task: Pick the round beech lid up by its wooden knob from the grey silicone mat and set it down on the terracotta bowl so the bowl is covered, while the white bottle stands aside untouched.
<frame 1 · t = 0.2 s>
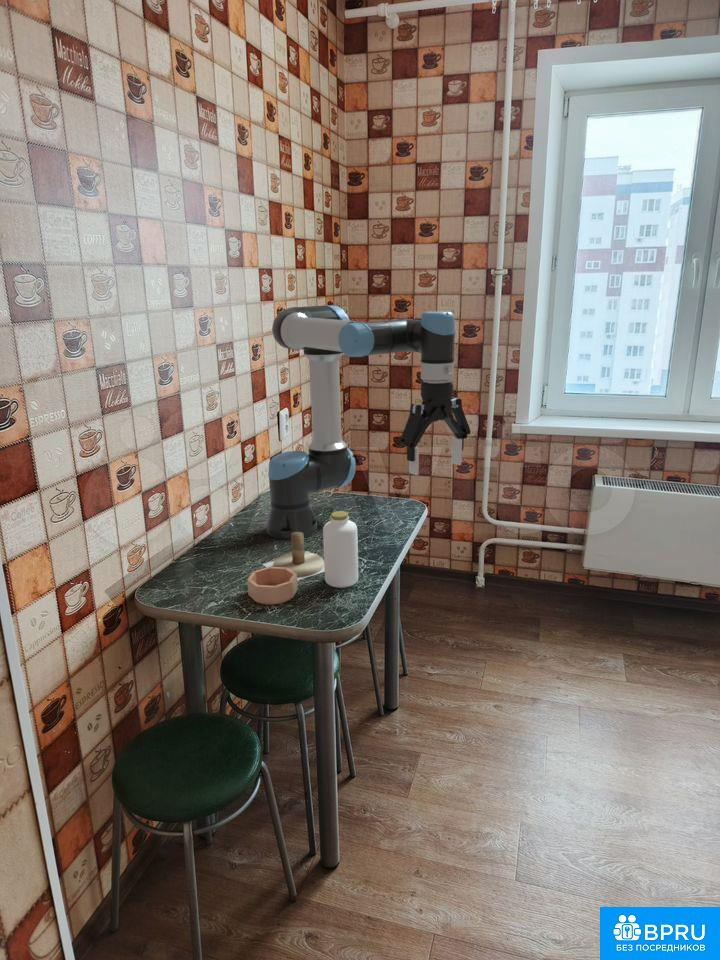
hand: (435, 468, 157), 28 cm above the table, fingers open, 13 cm apart
lid: (298, 566, 170), resting on mat
bowl: (273, 595, 155), on the table
white bottle: (341, 582, 162), on the table
mat: (298, 567, 170), on the table
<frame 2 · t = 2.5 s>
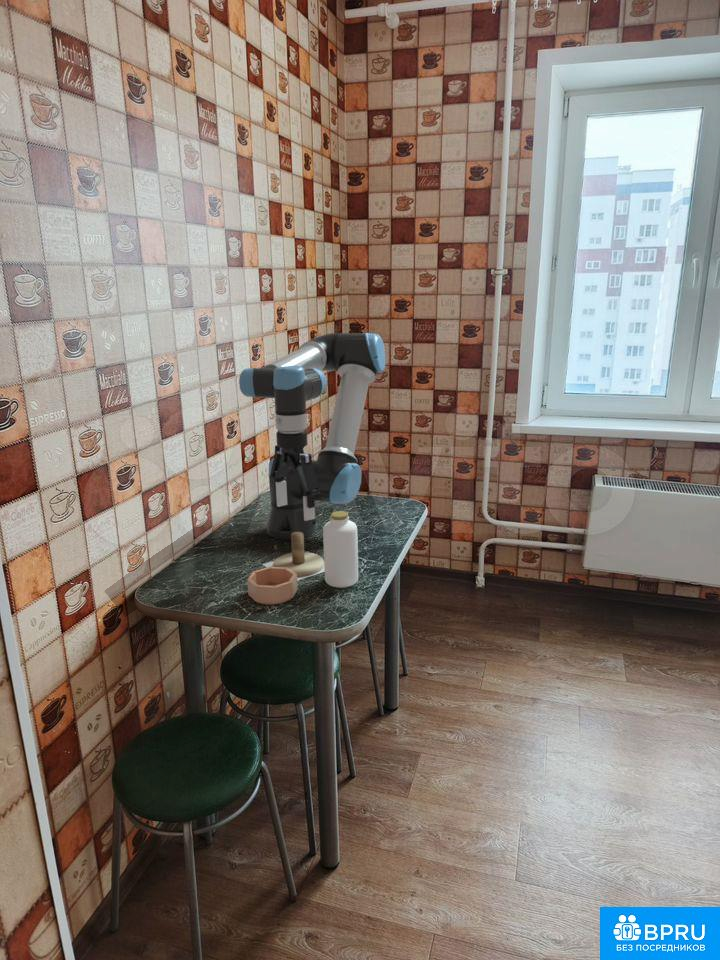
hand: (295, 512, 165), 15 cm above the table, fingers open, 13 cm apart
nothing on the table moved.
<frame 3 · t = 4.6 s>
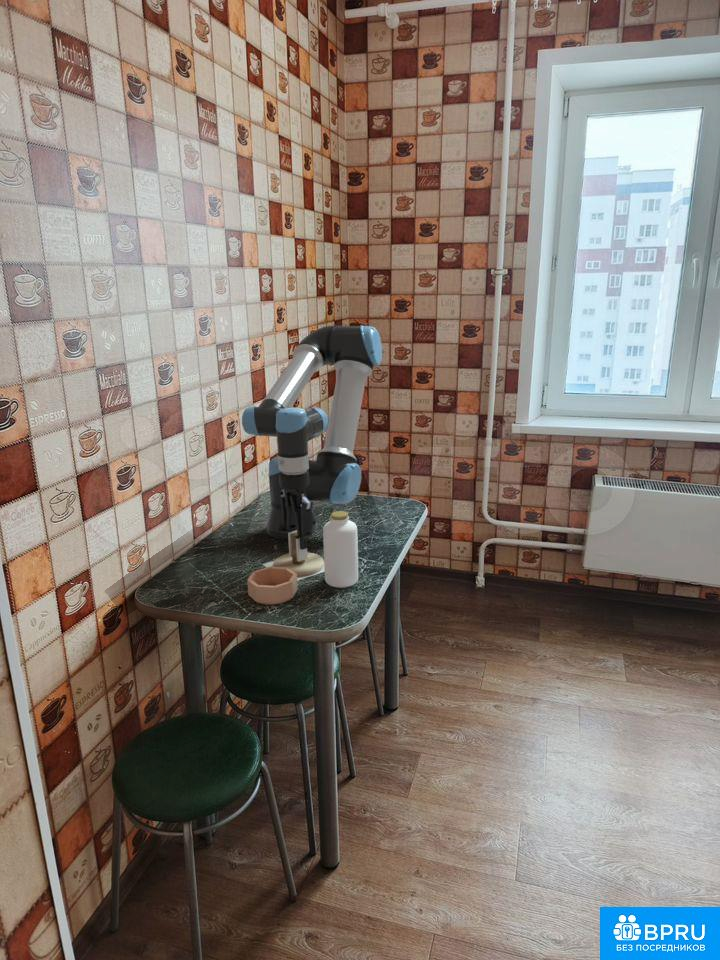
hand: (298, 557, 169), 3 cm above the table, fingers closed on lid, 3 cm apart
lid: (298, 566, 170), resting on mat, touching gripper
everything else where it was.
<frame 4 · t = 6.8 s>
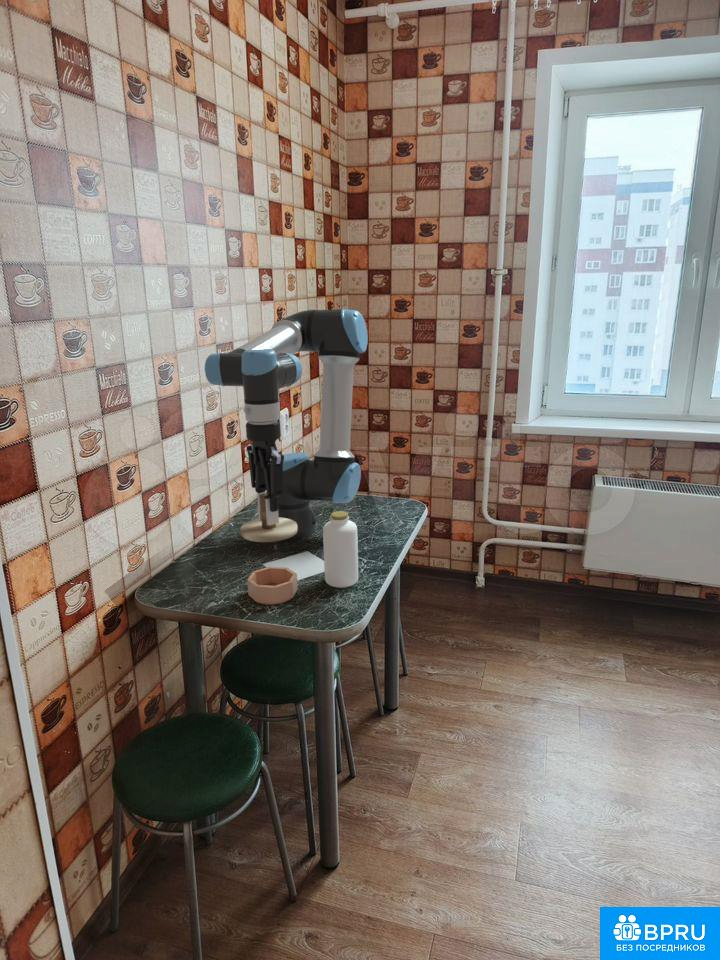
hand: (268, 521, 150), 19 cm above the table, fingers closed on lid, 3 cm apart
lid: (269, 531, 151), point 16 cm above the table, touching gripper
everything else where it was.
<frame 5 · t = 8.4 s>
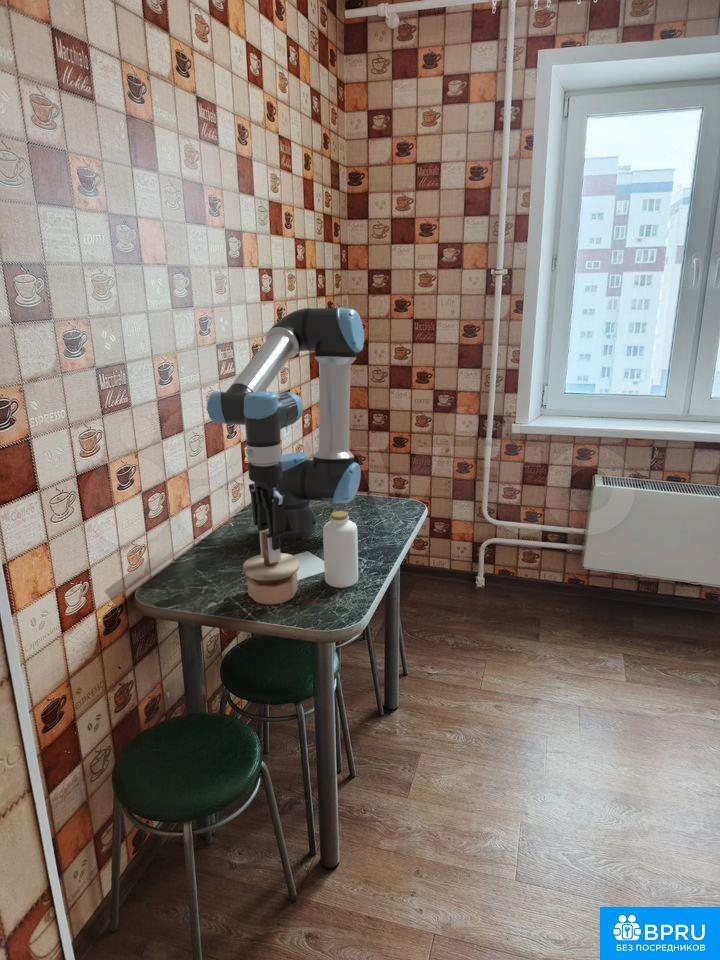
hand: (270, 558, 152), 10 cm above the table, fingers closed on lid, 3 cm apart
lid: (271, 568, 153), point 7 cm above the table, touching gripper
everything else where it was.
when the fingers open (9 cm above the table, at t = 9.3 s): lid drops 1 cm, resting on bowl.
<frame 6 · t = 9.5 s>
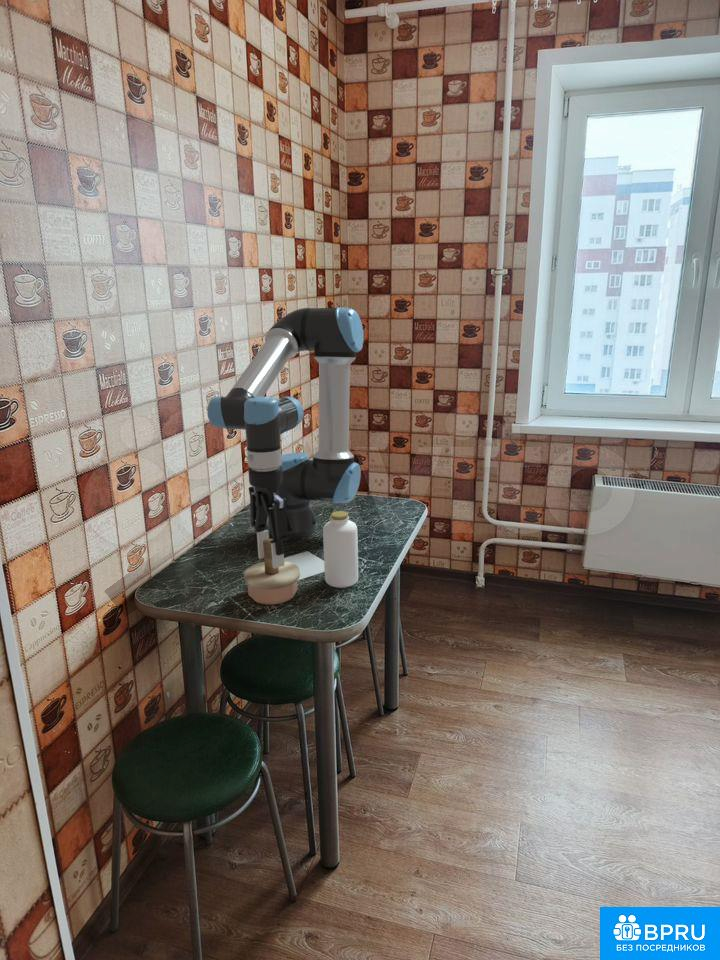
hand: (271, 561, 153), 9 cm above the table, fingers open, 6 cm apart
lid: (272, 576, 154), point 5 cm above the table, touching bowl
everything else where it was.
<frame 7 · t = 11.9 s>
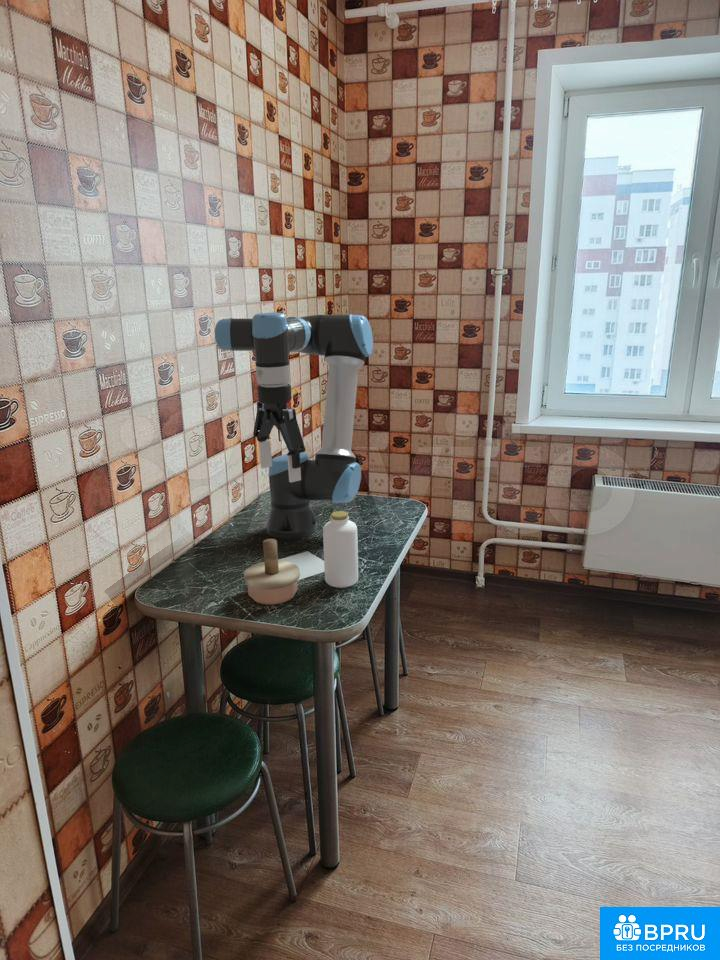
hand: (280, 474, 153), 28 cm above the table, fingers open, 13 cm apart
nothing on the table moved.
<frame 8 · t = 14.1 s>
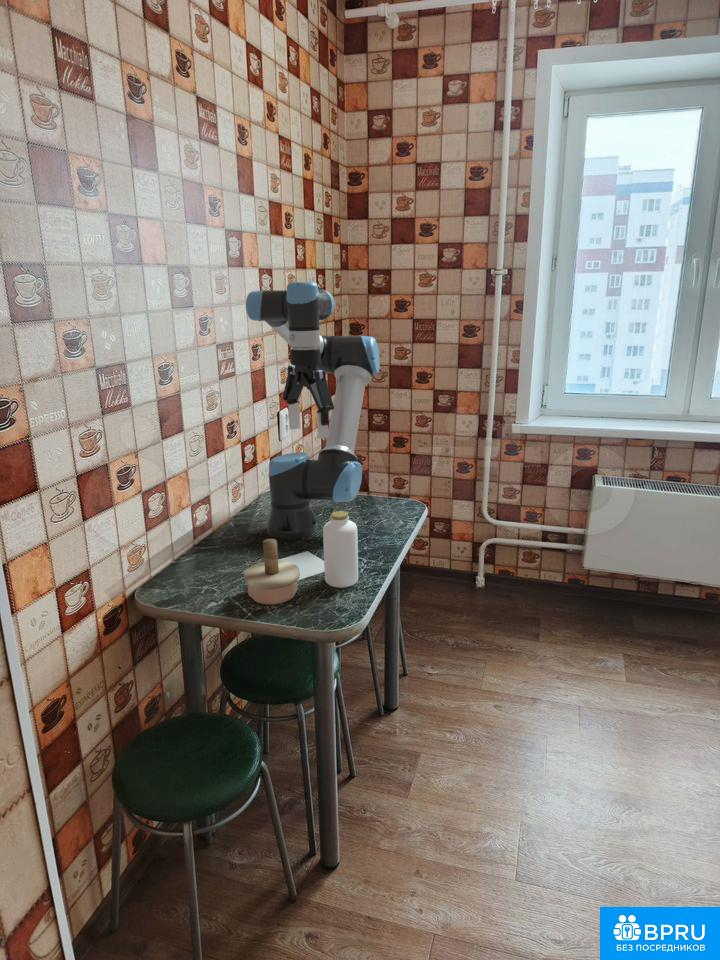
hand: (308, 433, 165), 35 cm above the table, fingers open, 13 cm apart
nothing on the table moved.
at the end: lid 0.0 cm off-centre on the bowl, point 5.0 cm above the bowl's base; lid tilted 0°; the gripper is holding nothing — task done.
